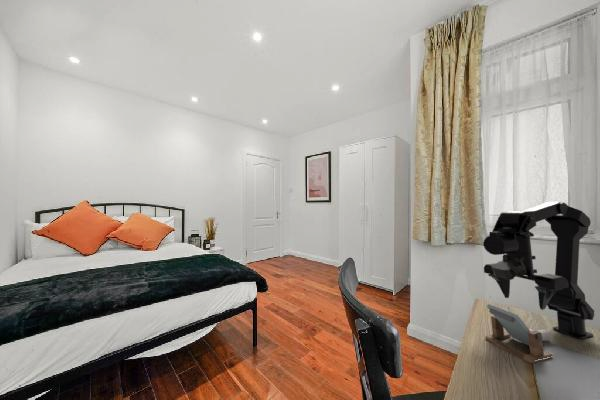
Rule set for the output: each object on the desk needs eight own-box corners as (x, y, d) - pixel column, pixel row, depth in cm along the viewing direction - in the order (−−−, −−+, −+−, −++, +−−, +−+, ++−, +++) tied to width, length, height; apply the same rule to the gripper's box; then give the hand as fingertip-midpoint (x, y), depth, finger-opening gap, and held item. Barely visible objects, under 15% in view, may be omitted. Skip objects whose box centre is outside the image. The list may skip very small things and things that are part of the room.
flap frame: (504, 334, 74) (502, 312, 74) (553, 358, 62) (550, 332, 62) (484, 338, 72) (482, 316, 73) (531, 363, 60) (528, 336, 60)
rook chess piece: (539, 345, 65) (560, 343, 67) (530, 327, 68) (550, 326, 69) (524, 345, 69) (544, 343, 70) (515, 328, 71) (535, 327, 73)
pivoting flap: (510, 339, 72) (513, 335, 72) (541, 355, 64) (545, 349, 64) (484, 308, 70) (488, 304, 71) (513, 320, 63) (517, 315, 63)
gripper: (468, 249, 77) (472, 295, 76) (535, 260, 59) (542, 321, 58) (494, 246, 79) (498, 291, 78) (566, 256, 61) (573, 315, 60)
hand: (523, 303), depth 69 cm, fingers open, 9 cm apart
